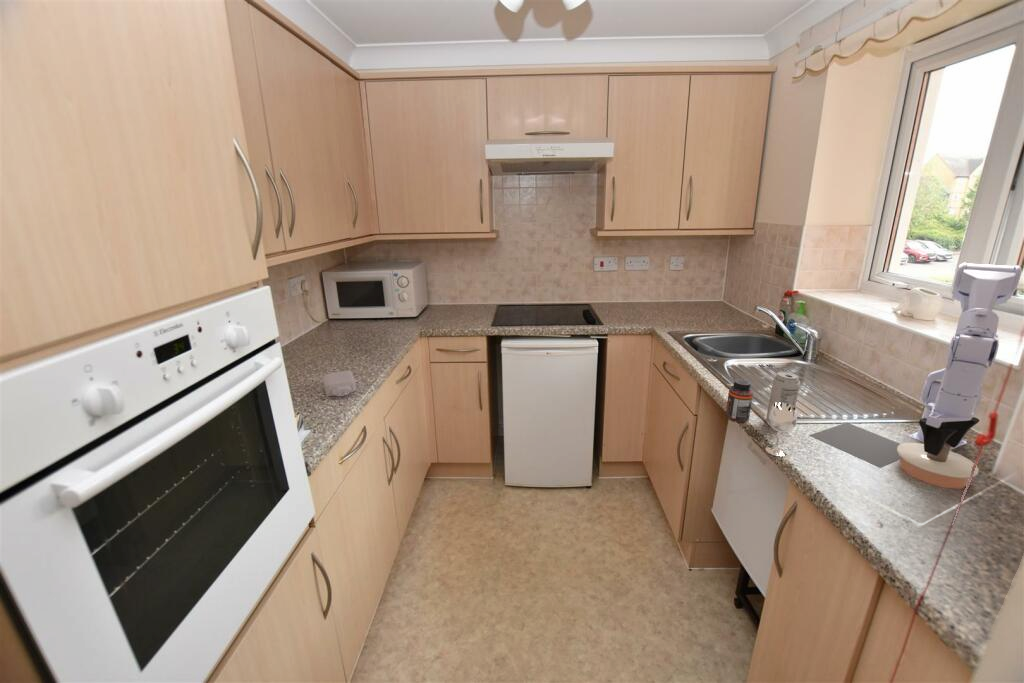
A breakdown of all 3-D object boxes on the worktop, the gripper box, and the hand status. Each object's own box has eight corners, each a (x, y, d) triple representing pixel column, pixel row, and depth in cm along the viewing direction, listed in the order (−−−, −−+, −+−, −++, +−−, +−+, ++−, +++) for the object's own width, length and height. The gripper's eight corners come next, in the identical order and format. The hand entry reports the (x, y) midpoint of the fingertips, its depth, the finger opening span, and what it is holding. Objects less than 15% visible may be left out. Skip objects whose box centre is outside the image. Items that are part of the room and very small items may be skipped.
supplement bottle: (723, 412, 126) (729, 376, 123) (746, 415, 124) (752, 378, 121) (726, 422, 121) (732, 384, 117) (750, 425, 119) (757, 386, 116)
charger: (328, 404, 135) (324, 387, 148) (359, 398, 139) (353, 382, 151) (326, 390, 133) (322, 374, 146) (357, 385, 137) (351, 369, 150)
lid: (915, 440, 104) (919, 424, 103) (990, 468, 93) (996, 451, 91) (884, 453, 99) (888, 436, 98) (959, 484, 87) (965, 467, 86)
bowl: (915, 456, 104) (919, 443, 103) (977, 481, 94) (982, 467, 93) (888, 467, 99) (892, 454, 98) (951, 495, 90) (956, 481, 89)
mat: (846, 424, 119) (846, 422, 119) (918, 452, 105) (919, 451, 105) (808, 436, 113) (809, 435, 112) (879, 469, 99) (880, 467, 99)
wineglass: (780, 444, 109) (788, 401, 105) (795, 457, 104) (804, 411, 100) (757, 445, 109) (765, 401, 105) (771, 458, 103) (780, 412, 100)
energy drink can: (782, 421, 121) (792, 370, 116) (795, 432, 115) (806, 379, 110) (760, 421, 121) (769, 370, 116) (772, 432, 115) (782, 379, 111)
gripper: (951, 379, 97) (934, 433, 101) (915, 390, 91) (899, 447, 95) (995, 390, 91) (975, 448, 95) (960, 403, 85) (940, 464, 89)
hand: (940, 449), depth 95 cm, fingers open, 7 cm apart
